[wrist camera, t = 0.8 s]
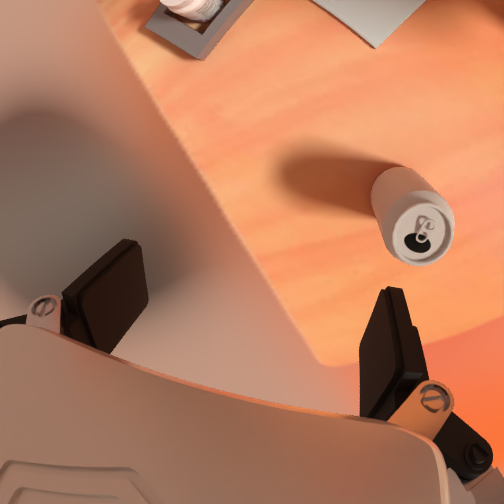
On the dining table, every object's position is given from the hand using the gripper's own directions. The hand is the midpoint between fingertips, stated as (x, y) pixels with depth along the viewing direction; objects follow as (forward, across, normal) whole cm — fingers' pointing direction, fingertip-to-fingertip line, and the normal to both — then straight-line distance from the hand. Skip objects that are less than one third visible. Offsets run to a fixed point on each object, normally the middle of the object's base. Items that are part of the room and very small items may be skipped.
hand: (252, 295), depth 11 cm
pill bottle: (+28, +13, -18) cm, 36 cm away
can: (+28, -12, +3) cm, 30 cm away
